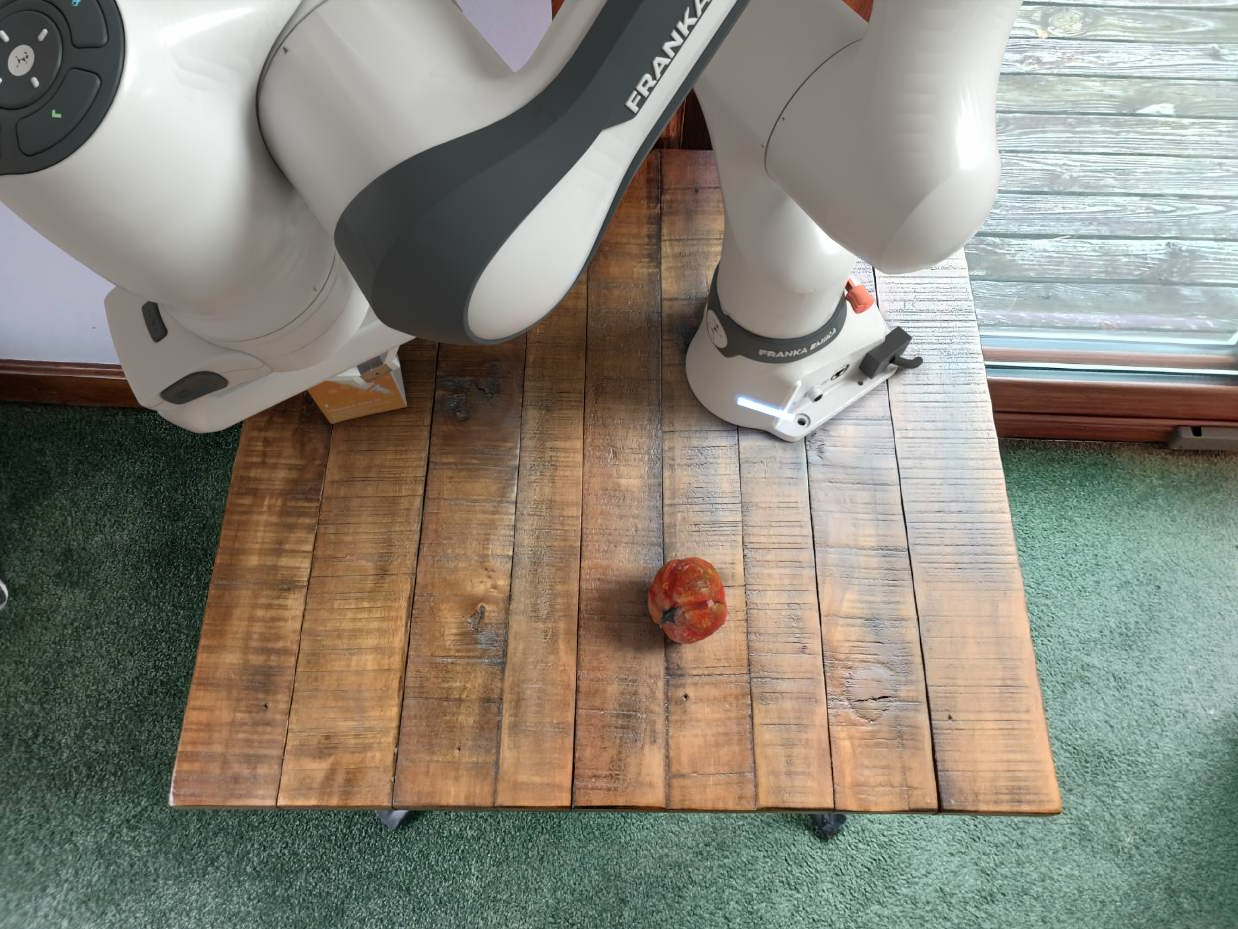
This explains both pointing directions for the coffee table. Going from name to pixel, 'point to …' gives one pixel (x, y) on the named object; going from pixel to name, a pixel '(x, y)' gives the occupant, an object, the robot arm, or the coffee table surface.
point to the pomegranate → (687, 600)
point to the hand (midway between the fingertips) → (377, 367)
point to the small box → (359, 396)
